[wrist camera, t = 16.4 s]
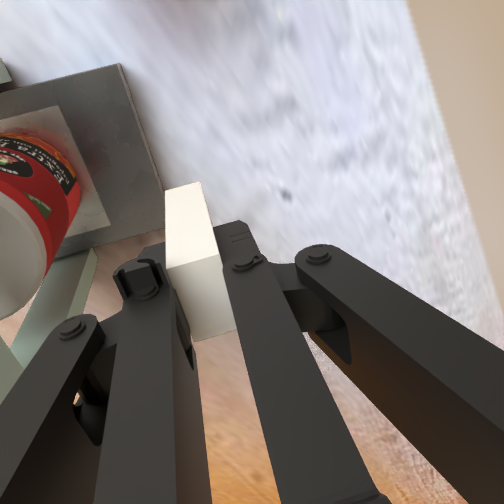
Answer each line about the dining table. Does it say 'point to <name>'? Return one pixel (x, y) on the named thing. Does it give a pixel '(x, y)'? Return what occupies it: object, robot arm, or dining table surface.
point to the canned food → (31, 215)
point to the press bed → (93, 152)
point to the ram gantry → (46, 305)
